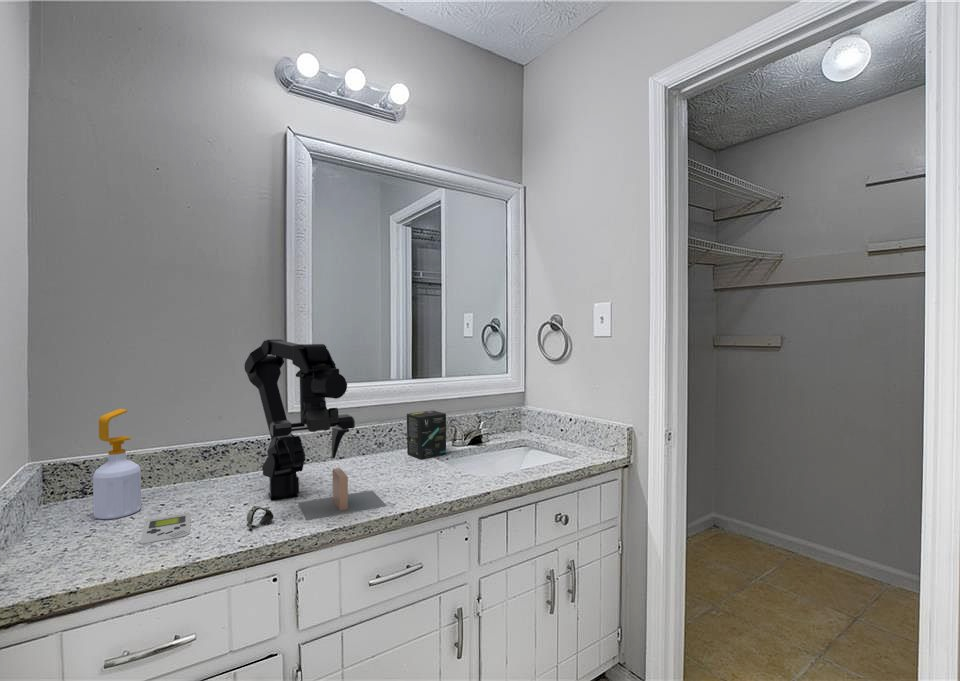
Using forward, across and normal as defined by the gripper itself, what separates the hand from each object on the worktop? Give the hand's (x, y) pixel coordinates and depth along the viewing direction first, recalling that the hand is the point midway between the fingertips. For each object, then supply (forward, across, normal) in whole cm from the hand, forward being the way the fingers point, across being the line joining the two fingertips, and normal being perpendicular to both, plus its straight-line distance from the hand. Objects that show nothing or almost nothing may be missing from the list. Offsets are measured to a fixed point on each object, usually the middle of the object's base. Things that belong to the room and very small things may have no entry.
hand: (314, 460), depth 117 cm
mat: (+12, +6, 0) cm, 14 cm away
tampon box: (+12, +45, +35) cm, 58 cm away
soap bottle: (+11, -41, +22) cm, 48 cm away
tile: (+12, +6, 0) cm, 13 cm away
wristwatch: (+12, -13, -3) cm, 18 cm away
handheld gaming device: (+12, -30, +6) cm, 33 cm away
